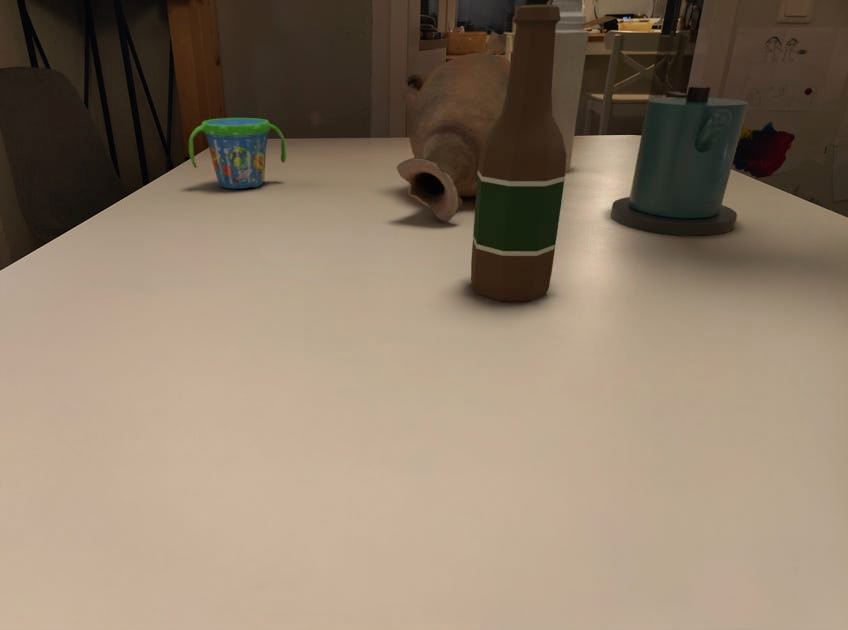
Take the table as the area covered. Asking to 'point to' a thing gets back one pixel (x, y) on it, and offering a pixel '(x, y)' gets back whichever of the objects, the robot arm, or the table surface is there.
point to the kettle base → (673, 221)
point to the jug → (451, 127)
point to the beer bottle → (521, 172)
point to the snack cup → (237, 149)
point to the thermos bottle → (568, 69)
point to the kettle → (686, 154)
